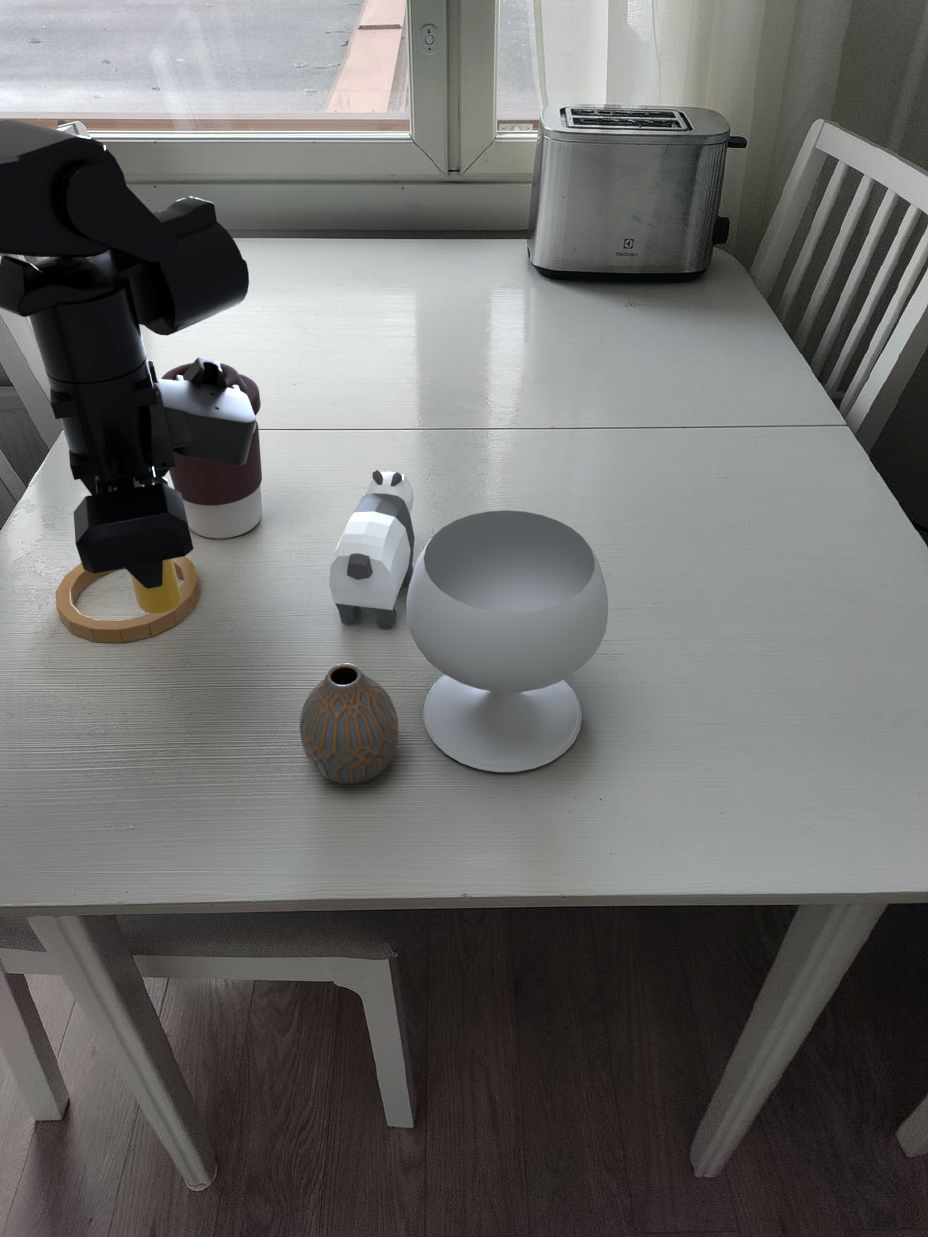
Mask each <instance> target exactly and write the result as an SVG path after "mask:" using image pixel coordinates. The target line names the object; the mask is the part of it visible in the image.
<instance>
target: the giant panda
mask: <svg viewBox="0 0 928 1237" xmlns="http://www.w3.org/2000/svg"><path fill="white" fill-rule="evenodd" d="M414 499H415V498H414V487H413V485H412V484H411V482H410V481H409V479H408V478H407V476H406V475H405V474H403V473H400V472H398V471H396V472H394V471H379V470H378V469H376V470H375V471H373V472H372V479H371V481H370V483H369V485H368V487H367V489H366V492H365V493H364V495H362V497H361V498H360V500H359V502H358V504H357V505H356V506H355V509H354V510H353V512H352V513H351V515H350V518H349V520H348V522H347V523H346V525H345V528H344V530H343V532H342V535H341V537H340V539H339V540H338V542H337V543H338V544H337V545H336V548H335V549H334V551H333V553H332V557H331V562H330V568H329V570H330V571H329V589H330V592H331V596H332V599H333V603H334V604H335V606H336V608H337V610H338V614H339V618H340V623H342V624H345V625H347V626H348V625H349V626H350V625H356V624H357V623H358V621H359V620H360V619H361V615H362V610H363V608H371V609H372V610H373V611H374V613H375V614H376V627H377V628H380V629H383V630H389V629H392V628H393V627H394V625H395V623H396V620H397V618H398V617H397V616H398V615H397V614H398V612H397V609H396V605H397V604H396V603H397V599H398V596H399V592H400V589H401V588H405V587H409V585H410V581H411V578H412V575H413V571H414V567H413V560H414V549H415V539H416V537H415V532H414V527H413V522H412V518H411V514H412V509H413V504H414V501H415V500H414ZM362 607H363V608H362Z"/></svg>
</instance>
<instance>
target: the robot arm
mask: <svg viewBox="0 0 928 1237" xmlns="http://www.w3.org/2000/svg"><path fill="white" fill-rule="evenodd" d="M216 213H217V212H216V206H215V204H214V203H213V202H212V201H209V200H205V199H201V198H198V197H194V196H187V197H184V198H181V199H178V200H176V201H174V202H173V203H171V205H169V206H168V207H165V208H162V209H160V210H157V211H154V212H152V211H151V210H150V209H149V208H148V207H147V206H146V205H145V203H143V201H141V199H140V198H139V197H138V196H137V195H136V194H135V193H134V192H133V191H132V190H131V189H130V187H128V186H127V182H126V178H125V175H124V172H123V170H122V168H121V166H120V164H119V162H118V160H117V158H116V157H115V156H114V155H113V154H112V153H111V152H110V150H108V148H107V147H106V145H105V144H104V143H103V142H101V141H99V140H96V139H94V138H92V137H88V136H83V135H80V134H76V133H71V132H67V131H63V130H59V129H54V128H51V127H48V126H47V127H46V126H42V125H38V124H34V123H30V122H27V121H20V120H17V119H3V120H0V254H4V255H2V256H1V258H0V309H2V310H4V311H7V312H9V313H12V314H14V315H17V316H19V317H22V318H27V317H29V321H30V325H31V327H32V331H33V334H34V338H35V340H36V344H37V347H38V351H39V354H40V357H41V360H42V364H43V367H44V371H45V375H46V378H47V381H48V384H49V391H50V406H51V408H52V412H53V415H54V419H55V420H60V423H61V427H62V430H63V433H64V437H65V440H66V444H67V446H68V456H69V458H68V460H69V467H70V471H71V475H72V478H73V480H74V481H76V480H77V481H78V480H80V482H81V483H82V484H83V485H84V488H86V489H87V491H88V492H89V493H90V495H86V496H84V498H83V499H82V501H81V502H80V503H79V504H78V506H76V508H75V510H74V511H73V526H74V542H75V546H76V550H77V553H78V556H79V559H80V563H82V566H83V569H84V570H85V571H88V572H91V573H94V574H95V573H101V572H106V571H111V570H114V571H117V570H116V569H118V570H122V569H121V568H123V569H125V570H126V571H127V572H128V573H129V575H130V574H131V575H132V576H133V577H135V578H136V579H137V580H138V581H139V582H140V583H141V584H142V585H143V586H144V587H145V588H147V589H150V588H155V587H160V586H161V585H162V583H163V560H168V559H173V558H179V557H184V556H185V557H186V556H188V555H189V554H190V553H191V552H192V551H193V550H194V549H195V548H194V544H193V539H192V535H191V530H190V527H189V525H188V521H187V517H186V512H185V508H184V503H183V499H182V494H181V493H180V492H178V491H176V490H175V489H174V487H171V486H169V482H168V479H167V478H166V475H168V474H167V473H168V472H169V469H170V468H173V467H176V462H175V458H174V453H173V451H174V452H176V453H177V454H180V455H182V456H186V457H193V458H200V459H208V460H215V461H222V462H224V463H225V464H226V465H231V466H241V465H244V464H245V463H246V460H247V456H248V452H249V448H250V443H251V439H252V435H253V430H254V426H255V422H256V421H257V417H256V416H255V414H254V412H253V409H252V406H251V403H250V401H249V398H248V396H247V395H246V394H244V393H243V392H241V391H240V389H239V386H238V385H232V389H231V388H227V384H226V381H225V378H224V375H223V372H222V369H221V366H220V363H221V362H220V361H219V360H215V359H211V358H210V359H209V358H203V357H197V358H196V359H195V360H194V361H193V362H192V363H193V364H192V365H191V366H190V367H189V369H188V370H187V371H186V372H185V373H184V375H183V376H180V375H176V380H175V381H172V380H163V379H161V378H158V377H157V374H156V369H155V364H154V361H153V359H151V360H148V356H147V353H146V348H145V343H144V339H143V334H142V330H141V326H144V327H145V328H147V329H148V330H149V331H151V332H153V333H154V334H157V335H159V336H167V337H168V336H170V335H173V334H176V333H178V332H180V331H182V330H184V329H186V328H190V327H191V326H193V325H195V324H197V323H200V322H202V321H204V320H207V319H209V318H211V317H214V316H216V315H219V314H220V313H223V312H225V311H227V310H229V309H231V308H234V307H236V306H239V305H240V304H241V303H242V302H243V301H244V300H246V297H247V294H248V292H249V286H250V272H249V268H248V263H247V261H246V259H244V258H243V256H242V253H241V250H240V249H239V247H238V245H237V243H236V240H235V239H234V238H233V236H232V235H231V234H230V232H229V231H228V230H227V229H226V228H225V227H224V226H223V225H222V224H221V223H220V222H218V220H217V214H216ZM12 255H14V256H25V257H33V258H44V259H41V260H39V261H36V262H32V263H30V262H28V261H26V260H23V259H20V258H18V257H14V256H12ZM135 481H139V484H144V486H138V487H136V486H135ZM115 487H116V488H117V490H115V491H114V488H115Z"/></svg>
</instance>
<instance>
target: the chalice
mask: <svg viewBox="0 0 928 1237" xmlns="http://www.w3.org/2000/svg"><path fill="white" fill-rule="evenodd" d="M608 614H609V598H608V590H607V583H606V580H605V577H604V574H603V571H602V567H601V564H600V562H599V559H598V558H597V555H596V553H595V551H594V550H593V548H592V547H591V545H590V544H589V543H588V542H587V541H586V539H585V538H584V537H583V536H582V535H581V534H580V533H579V532H577V531H576V530H574V528H572V527H570V526H569V525H566V524H564V523H563V522H561V521H559V520H557V519H555V518H551V517H548V516H546V515H543V514H538V513H534V512H530V511H529V512H528V511H520V510H507V509H505V510H491V511H483V512H479V513H473V514H471V515H467V516H464V517H461V518H458V519H456V520H453V521H452V522H450V523H448V524H447V525H444V526H443V527H441V529H439V530H438V531H437V532H436V533H435V534H434V535H433V536H432V537H431V538H430V539H429V540H428V542H427V543H426V544H425V547H424V548H423V550H422V551H421V553H420V554H419V556H418V557H417V560H416V562H415V565H414V567H413V575H412V578H411V581H410V584H409V585H408V590H407V596H406V616H407V625H408V626H407V627H408V630H409V632H410V635H411V637H412V640H413V642H414V644H415V645H416V647H417V649H418V650H419V652H420V653H421V654H422V655H423V657H424V658H425V659H426V661H428V663H430V665H432V666H433V667H435V668H436V669H437V670H438V671H440V672H441V673H442V674H443V675H442V676H441V677H439V679H438V680H436V681H435V682H434V683H433V685H432V686H431V688H430V689H429V691H428V692H427V694H426V697H425V699H424V700H425V701H424V703H423V706H422V708H423V712H422V716H423V717H422V719H423V723H424V726H425V729H426V732H427V734H428V735H429V737H430V738H431V740H432V741H433V743H434V744H435V745H436V747H437V748H439V749H440V750H441V751H442V752H443V753H444V754H445V755H447V756H449V757H450V758H452V759H454V760H455V761H457V762H459V763H460V764H463V765H465V766H468V767H471V768H475V769H477V770H482V771H487V772H494V773H495V772H496V773H518V772H523V771H528V770H532V769H536V768H539V767H541V766H542V767H543V766H544V765H547V764H549V763H552V762H553V761H554V760H556V759H558V758H559V757H560V756H562V755H564V754H565V753H566V752H567V751H568V750H569V748H570V747H571V746H572V745H573V744H574V743H575V742H576V739H577V737H578V735H579V733H580V731H581V727H582V720H583V714H582V707H581V703H580V701H579V699H578V697H577V695H576V693H575V691H574V689H572V688H571V686H569V684H568V683H567V681H565V679H567V678H569V677H571V676H572V675H573V674H575V673H577V672H578V671H580V670H581V669H583V667H584V666H586V664H587V663H588V662H590V660H591V659H592V658H593V657H594V655H595V654H596V652H597V651H598V649H599V648H600V646H601V643H602V642H603V639H604V637H605V634H606V632H607V631H606V630H607V625H608V617H609V615H608Z"/></svg>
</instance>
